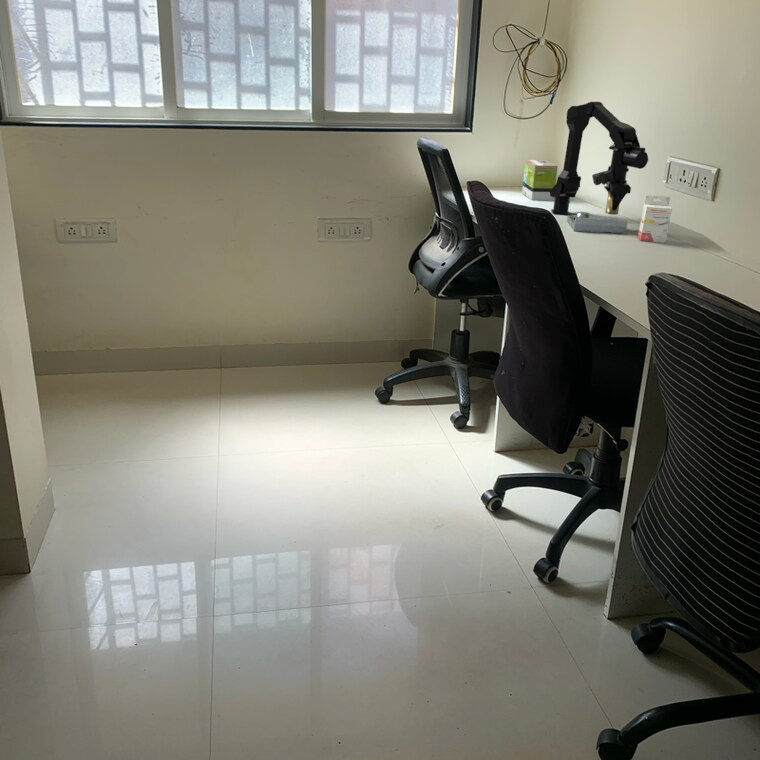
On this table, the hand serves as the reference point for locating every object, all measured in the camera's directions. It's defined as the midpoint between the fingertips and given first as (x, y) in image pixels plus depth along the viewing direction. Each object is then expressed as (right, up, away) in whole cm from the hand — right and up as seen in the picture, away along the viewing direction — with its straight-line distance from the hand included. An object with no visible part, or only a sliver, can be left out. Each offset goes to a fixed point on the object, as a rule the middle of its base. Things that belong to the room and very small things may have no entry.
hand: (612, 209), depth 278 cm
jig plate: (-5, -6, +3) cm, 9 cm away
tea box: (-16, +17, +55) cm, 59 cm away
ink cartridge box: (+10, -14, -12) cm, 21 cm away
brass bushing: (0, -1, +1) cm, 2 cm away
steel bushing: (-10, -6, +3) cm, 12 cm away
